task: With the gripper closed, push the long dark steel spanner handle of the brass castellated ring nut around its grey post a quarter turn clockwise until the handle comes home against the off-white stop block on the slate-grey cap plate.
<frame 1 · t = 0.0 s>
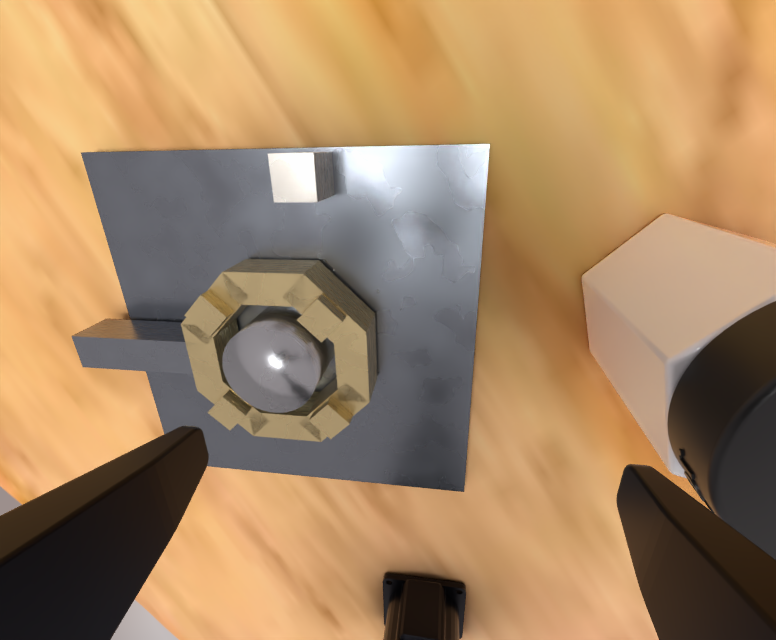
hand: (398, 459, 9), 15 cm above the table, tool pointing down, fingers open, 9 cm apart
cap plate: (299, 333, 25), on the table
jar: (663, 297, 21), on the table
ring nut: (222, 352, 23), point 3 cm above the table, hinge at 0.0°
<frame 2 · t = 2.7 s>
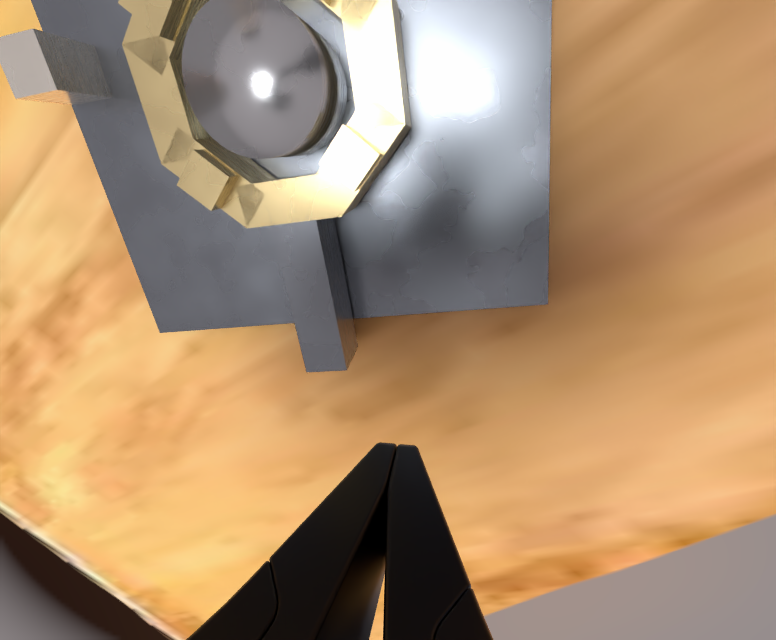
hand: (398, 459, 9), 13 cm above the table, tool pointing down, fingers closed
cap plate: (297, 95, 18), on the table
ring nut: (292, 182, 17), point 3 cm above the table, hinge at 0.0°
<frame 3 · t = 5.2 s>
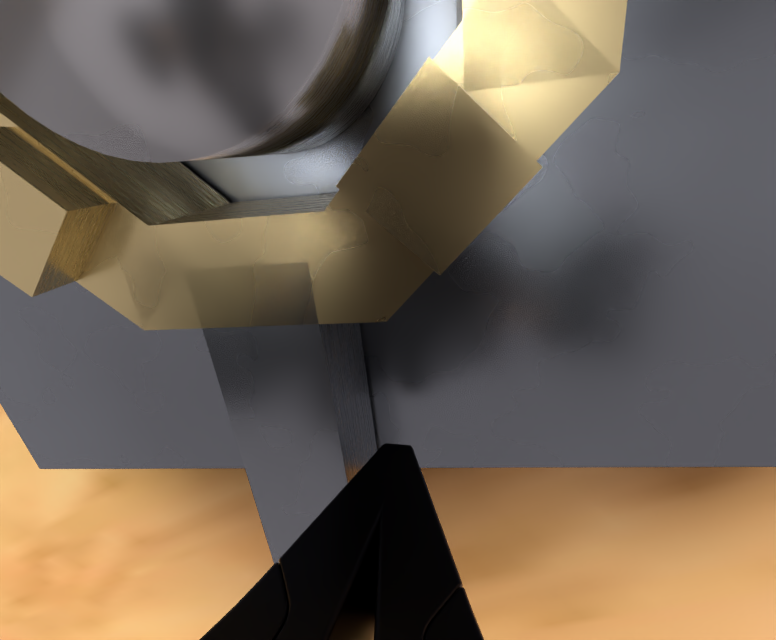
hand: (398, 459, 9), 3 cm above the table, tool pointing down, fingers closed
cap plate: (282, 14, 8), on the table
ring nut: (260, 222, 7), point 3 cm above the table, hinge at 2.1°, touching gripper
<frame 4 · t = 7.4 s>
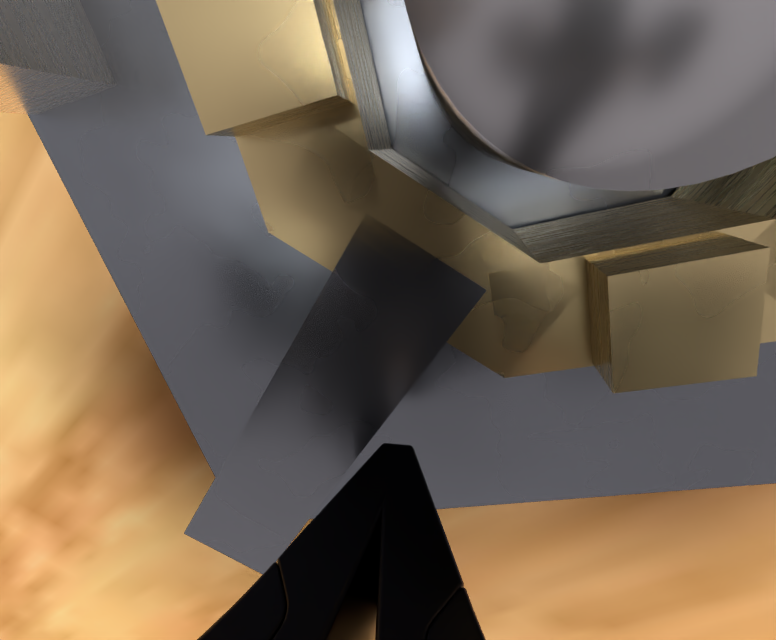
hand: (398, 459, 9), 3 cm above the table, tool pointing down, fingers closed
cap plate: (556, 23, 7), on the table
ring nut: (447, 211, 6), point 3 cm above the table, hinge at 45.5°, touching gripper
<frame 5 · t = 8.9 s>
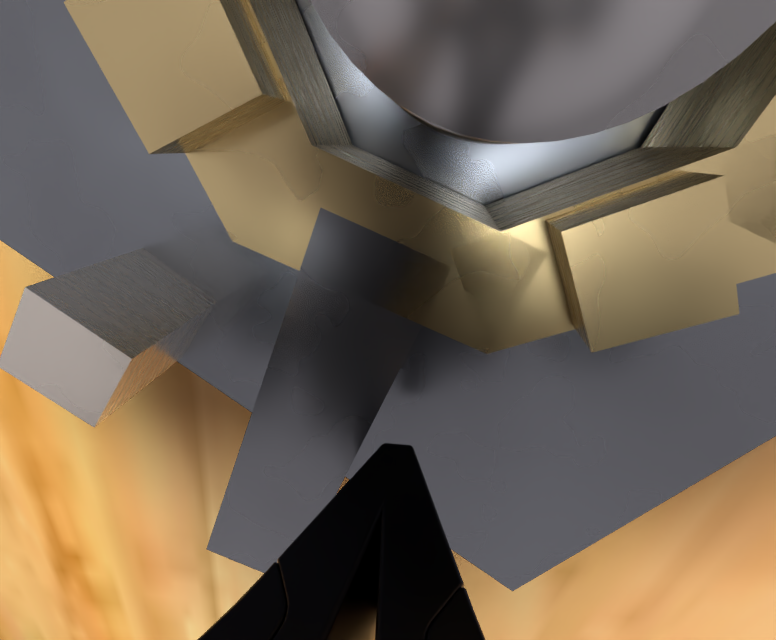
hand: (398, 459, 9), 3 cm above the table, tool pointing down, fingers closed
ring nut: (406, 196, 6), point 3 cm above the table, hinge at 75.0°, touching gripper
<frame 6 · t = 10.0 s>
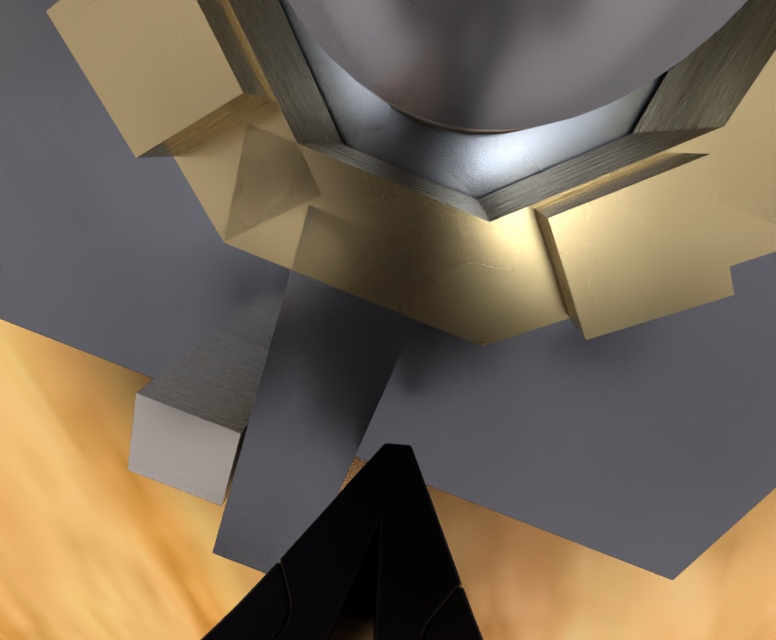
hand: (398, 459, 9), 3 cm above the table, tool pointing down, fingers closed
ring nut: (396, 191, 6), point 3 cm above the table, hinge at 90.3°, touching gripper
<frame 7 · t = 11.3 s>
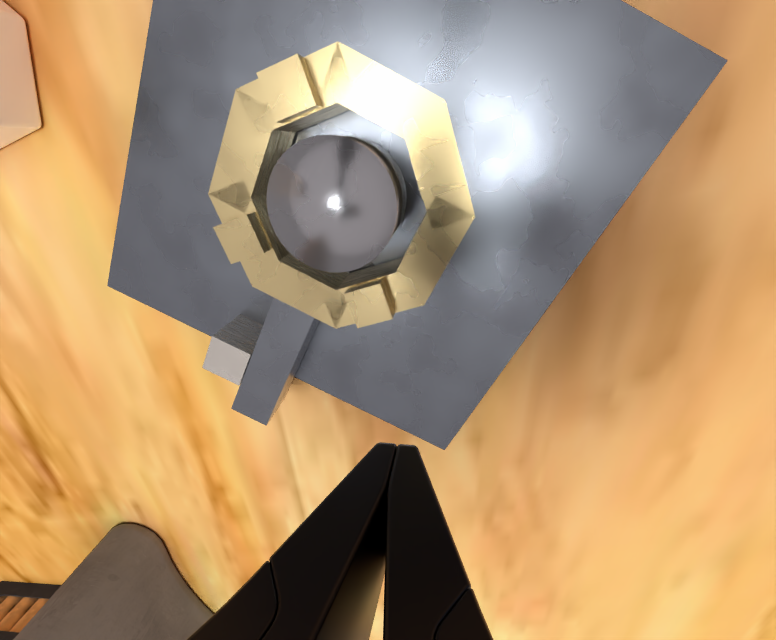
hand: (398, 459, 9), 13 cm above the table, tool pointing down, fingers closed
cap plate: (356, 194, 19), on the table
ammunition clip: (52, 588, 38), on the table
flask: (168, 581, 35), on the table
ring nut: (312, 273, 18), point 3 cm above the table, hinge at 90.4°
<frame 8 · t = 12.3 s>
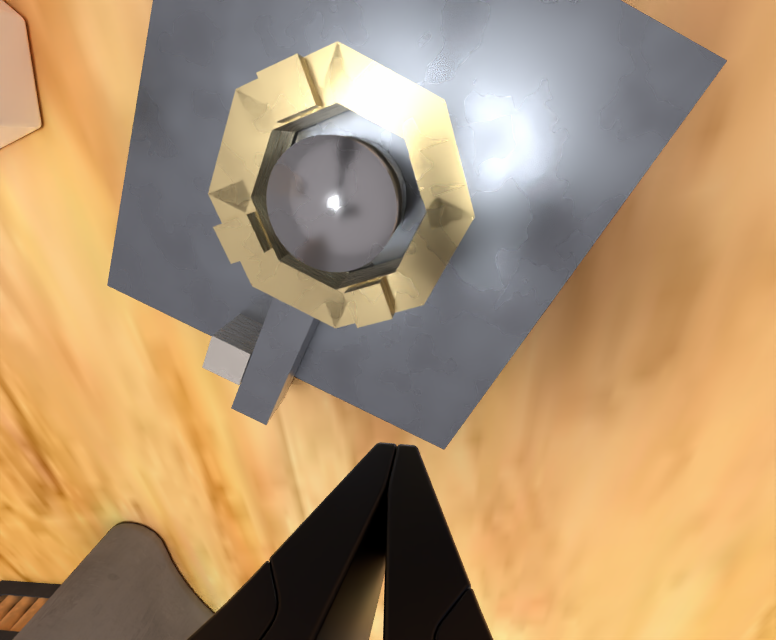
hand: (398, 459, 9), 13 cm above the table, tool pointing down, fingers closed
cap plate: (356, 194, 19), on the table
ammunition clip: (52, 587, 38), on the table
flask: (168, 581, 35), on the table
ring nut: (311, 273, 18), point 3 cm above the table, hinge at 90.4°
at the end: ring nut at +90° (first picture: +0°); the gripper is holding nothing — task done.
